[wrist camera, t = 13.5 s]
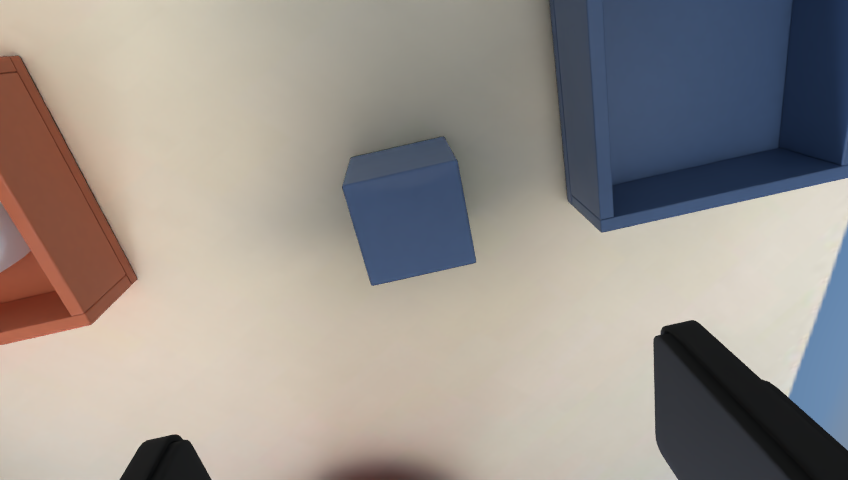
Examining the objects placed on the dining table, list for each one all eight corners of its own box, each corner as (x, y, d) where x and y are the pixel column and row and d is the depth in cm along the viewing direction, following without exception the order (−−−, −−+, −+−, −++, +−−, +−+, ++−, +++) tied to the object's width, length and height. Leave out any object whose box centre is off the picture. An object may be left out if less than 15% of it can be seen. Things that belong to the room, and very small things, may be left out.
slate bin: (545, -41, 19) (582, -58, 16) (805, -102, 19) (906, -134, 15) (567, 201, 24) (601, 233, 20) (779, 153, 24) (854, 177, 20)
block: (349, 157, 22) (341, 186, 18) (444, 135, 22) (457, 159, 18) (374, 243, 24) (371, 287, 20) (461, 223, 24) (476, 263, 20)
